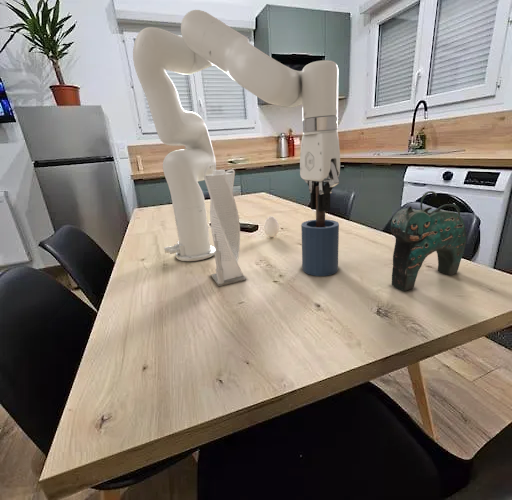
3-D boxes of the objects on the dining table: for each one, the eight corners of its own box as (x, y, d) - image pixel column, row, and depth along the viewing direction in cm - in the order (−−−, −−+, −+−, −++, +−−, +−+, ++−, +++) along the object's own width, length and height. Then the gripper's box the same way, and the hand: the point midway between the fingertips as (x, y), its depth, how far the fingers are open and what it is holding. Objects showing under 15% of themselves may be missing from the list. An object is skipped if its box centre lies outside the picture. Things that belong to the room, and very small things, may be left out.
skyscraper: (209, 274, 78) (195, 164, 69) (238, 267, 81) (228, 161, 72) (218, 286, 71) (203, 165, 62) (250, 278, 74) (240, 161, 64)
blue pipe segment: (314, 279, 71) (314, 230, 67) (296, 266, 79) (294, 223, 75) (345, 271, 74) (346, 224, 70) (324, 260, 82) (324, 217, 78)
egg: (277, 239, 103) (276, 218, 100) (262, 239, 105) (261, 218, 102) (281, 235, 108) (280, 214, 105) (267, 234, 109) (265, 214, 107)
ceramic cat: (402, 295, 60) (412, 197, 54) (378, 284, 66) (384, 194, 60) (467, 274, 67) (482, 185, 61) (440, 265, 73) (451, 183, 67)
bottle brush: (318, 250, 72) (318, 187, 67) (310, 246, 75) (309, 186, 70) (331, 247, 73) (332, 185, 68) (322, 243, 77) (322, 184, 72)
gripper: (287, 131, 71) (290, 207, 77) (327, 124, 57) (326, 218, 63) (314, 129, 74) (315, 203, 80) (358, 122, 59) (355, 212, 65)
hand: (320, 209), depth 71 cm, fingers closed on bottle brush, 2 cm apart
